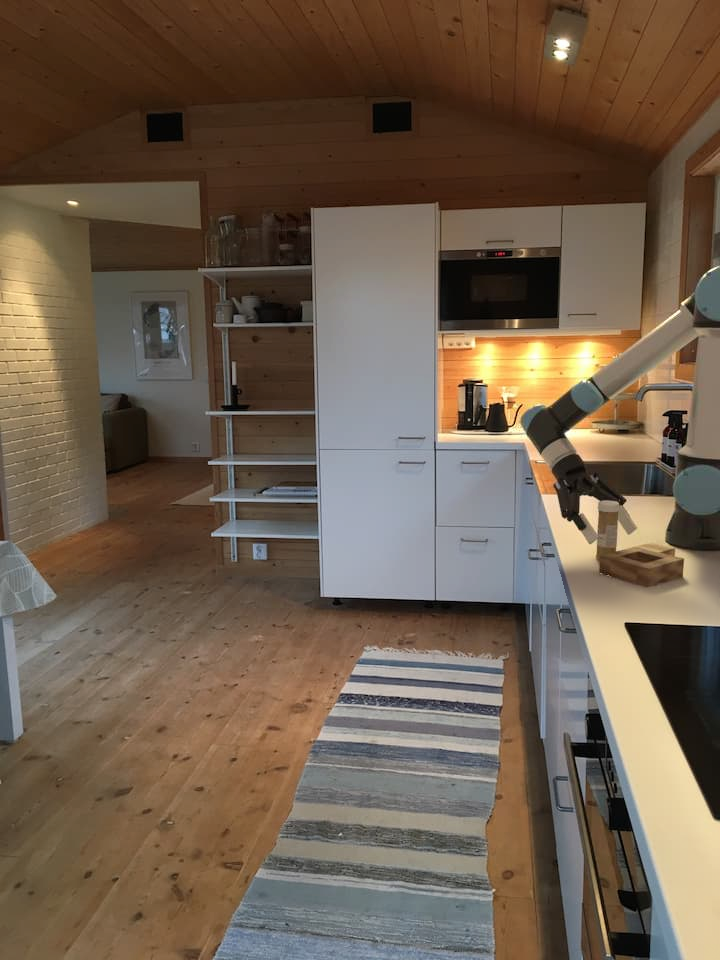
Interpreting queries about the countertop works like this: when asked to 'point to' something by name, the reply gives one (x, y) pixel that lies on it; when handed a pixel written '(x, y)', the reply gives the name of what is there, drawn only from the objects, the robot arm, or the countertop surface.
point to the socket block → (641, 566)
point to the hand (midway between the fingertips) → (614, 536)
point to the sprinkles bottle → (607, 527)
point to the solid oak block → (658, 548)
